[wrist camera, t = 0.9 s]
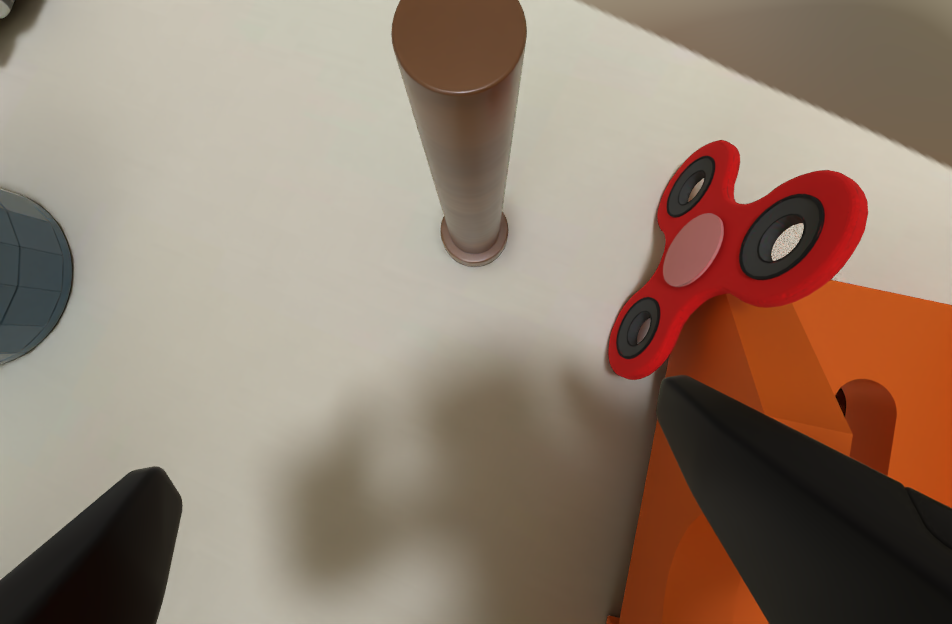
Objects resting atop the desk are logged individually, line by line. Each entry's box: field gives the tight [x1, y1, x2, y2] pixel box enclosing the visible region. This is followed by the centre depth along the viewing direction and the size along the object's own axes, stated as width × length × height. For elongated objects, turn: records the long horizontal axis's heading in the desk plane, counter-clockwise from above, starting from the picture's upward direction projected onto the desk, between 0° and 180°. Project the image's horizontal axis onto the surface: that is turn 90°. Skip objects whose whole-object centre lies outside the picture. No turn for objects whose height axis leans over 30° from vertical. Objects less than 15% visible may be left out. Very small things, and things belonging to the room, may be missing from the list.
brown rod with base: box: [392, 0, 527, 267], centre depth 14 cm, size 3×3×14 cm
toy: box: [608, 140, 868, 380], centre depth 16 cm, size 10×10×1 cm
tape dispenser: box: [606, 280, 952, 624], centre depth 16 cm, size 18×13×8 cm
